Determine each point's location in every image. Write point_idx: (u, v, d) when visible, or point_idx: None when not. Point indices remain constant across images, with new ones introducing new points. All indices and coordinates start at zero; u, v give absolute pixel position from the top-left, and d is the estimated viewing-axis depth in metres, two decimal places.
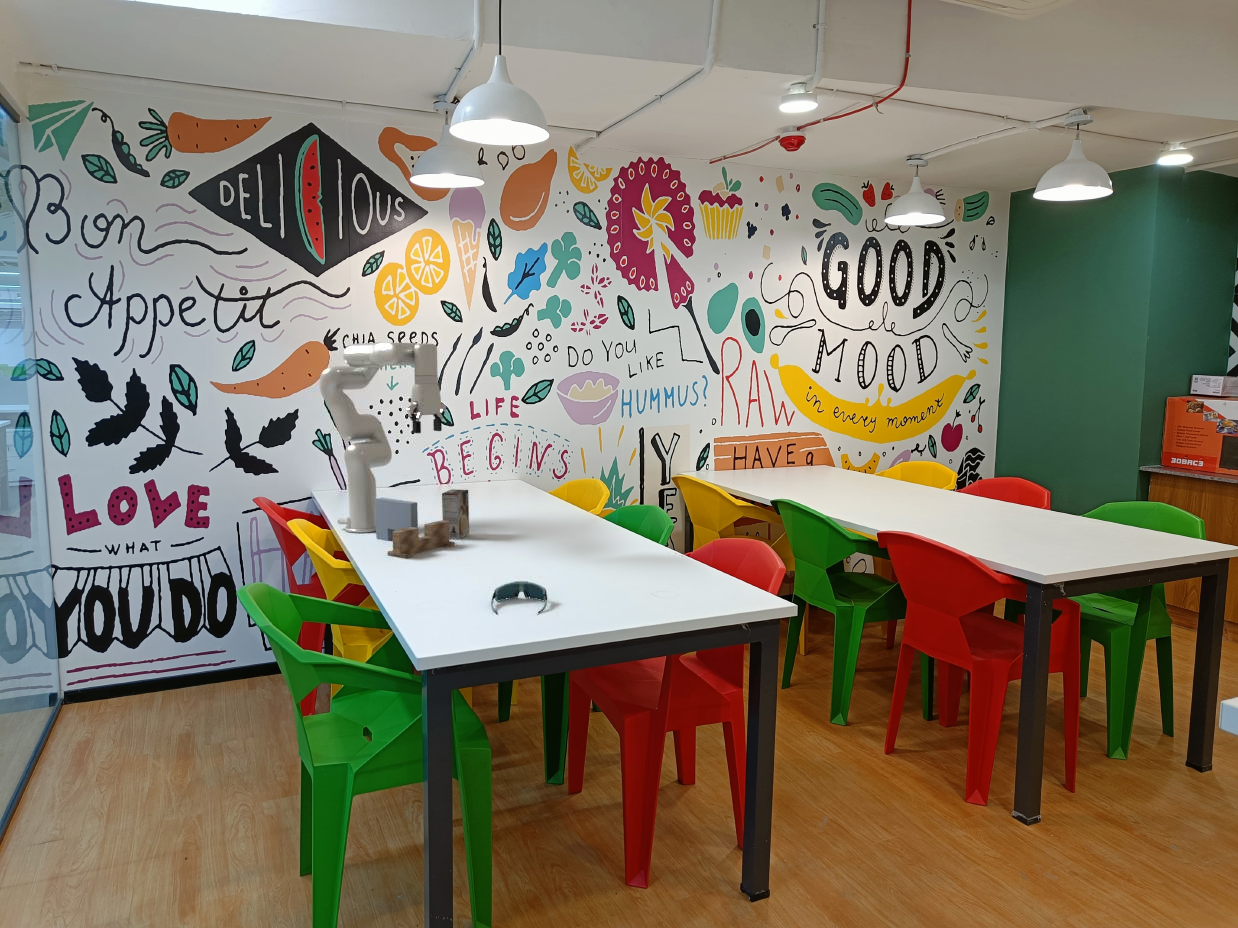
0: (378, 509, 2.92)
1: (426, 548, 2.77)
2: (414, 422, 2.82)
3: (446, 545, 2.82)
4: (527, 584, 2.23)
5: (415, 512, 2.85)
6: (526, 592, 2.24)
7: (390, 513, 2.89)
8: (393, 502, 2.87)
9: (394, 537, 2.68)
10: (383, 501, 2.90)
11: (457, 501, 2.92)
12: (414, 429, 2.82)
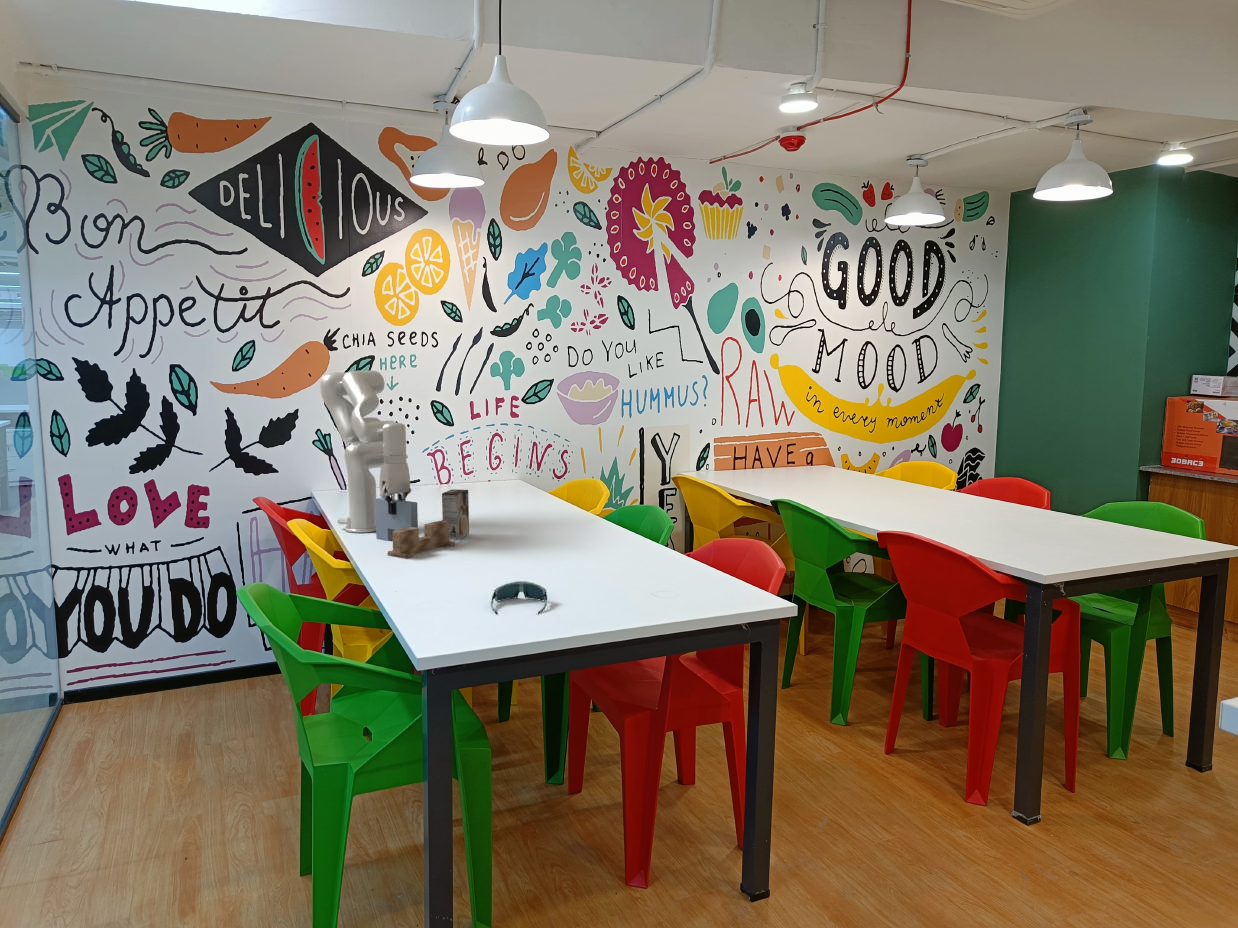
0: (378, 509, 2.92)
1: (426, 548, 2.77)
2: (389, 504, 2.87)
3: (446, 545, 2.82)
4: (527, 584, 2.23)
5: (415, 512, 2.85)
6: (526, 592, 2.24)
7: None
8: None
9: (394, 537, 2.68)
10: (383, 501, 2.90)
11: (457, 501, 2.92)
12: (389, 510, 2.87)
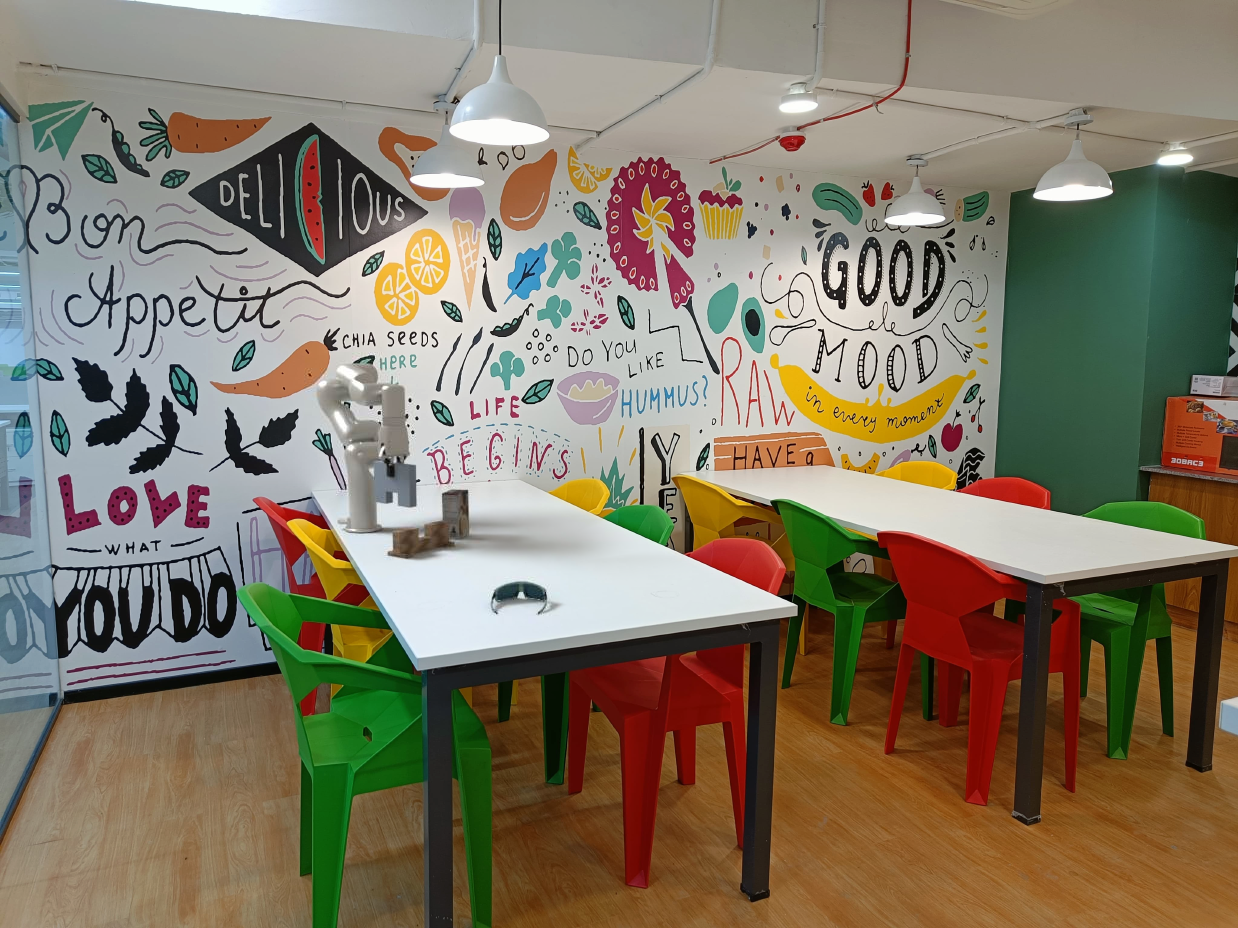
0: (377, 472, 2.90)
1: (426, 548, 2.77)
2: (388, 466, 2.85)
3: (446, 545, 2.82)
4: (527, 584, 2.23)
5: (414, 475, 2.84)
6: (526, 592, 2.24)
7: None
8: None
9: (394, 537, 2.68)
10: (382, 464, 2.89)
11: (457, 501, 2.92)
12: (388, 473, 2.86)
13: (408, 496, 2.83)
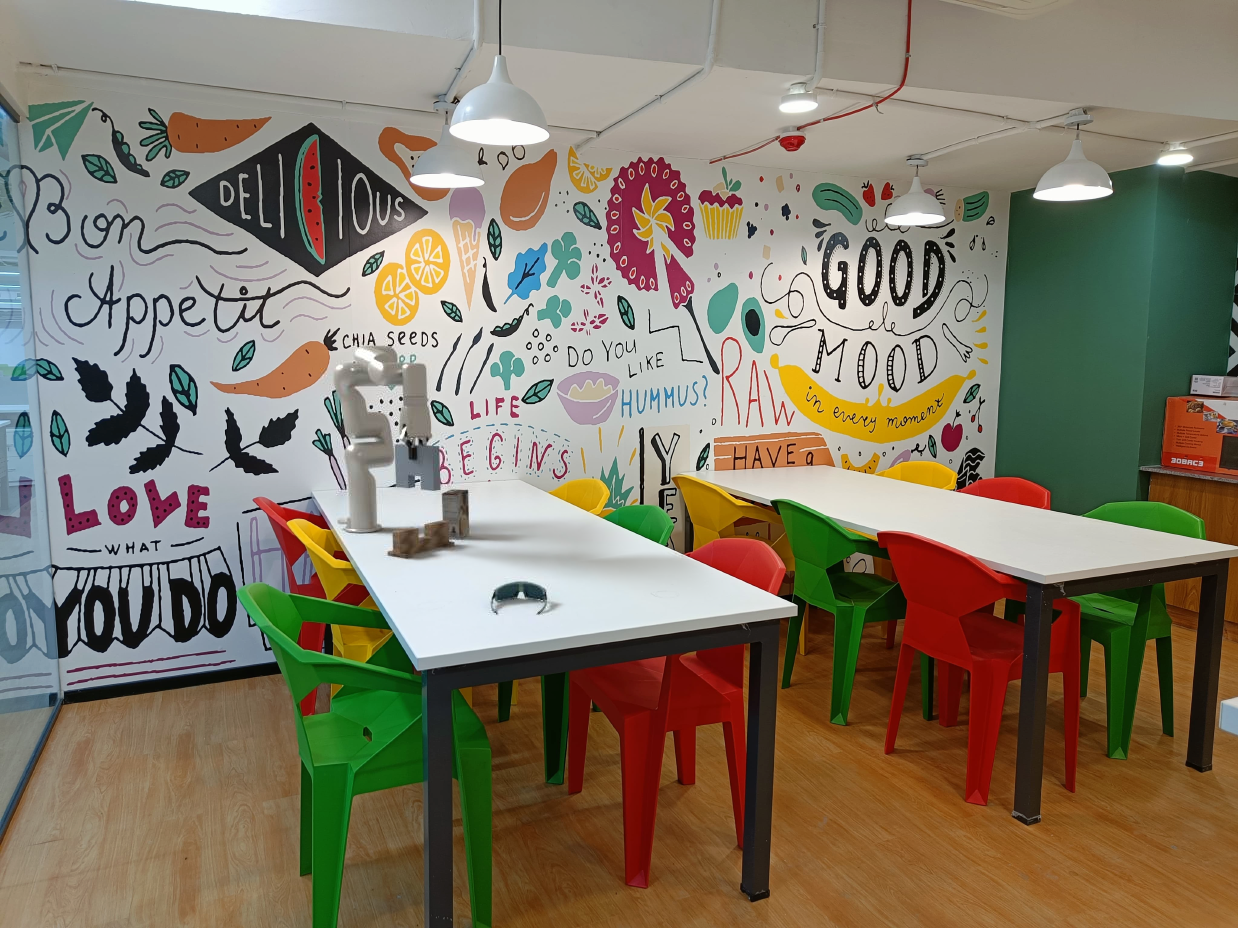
0: (398, 455, 2.77)
1: (426, 548, 2.77)
2: (410, 448, 2.72)
3: (446, 545, 2.82)
4: (527, 584, 2.23)
5: (437, 456, 2.71)
6: (526, 592, 2.24)
7: None
8: None
9: (394, 537, 2.68)
10: (403, 446, 2.76)
11: (457, 501, 2.92)
12: (410, 456, 2.73)
13: (432, 479, 2.70)
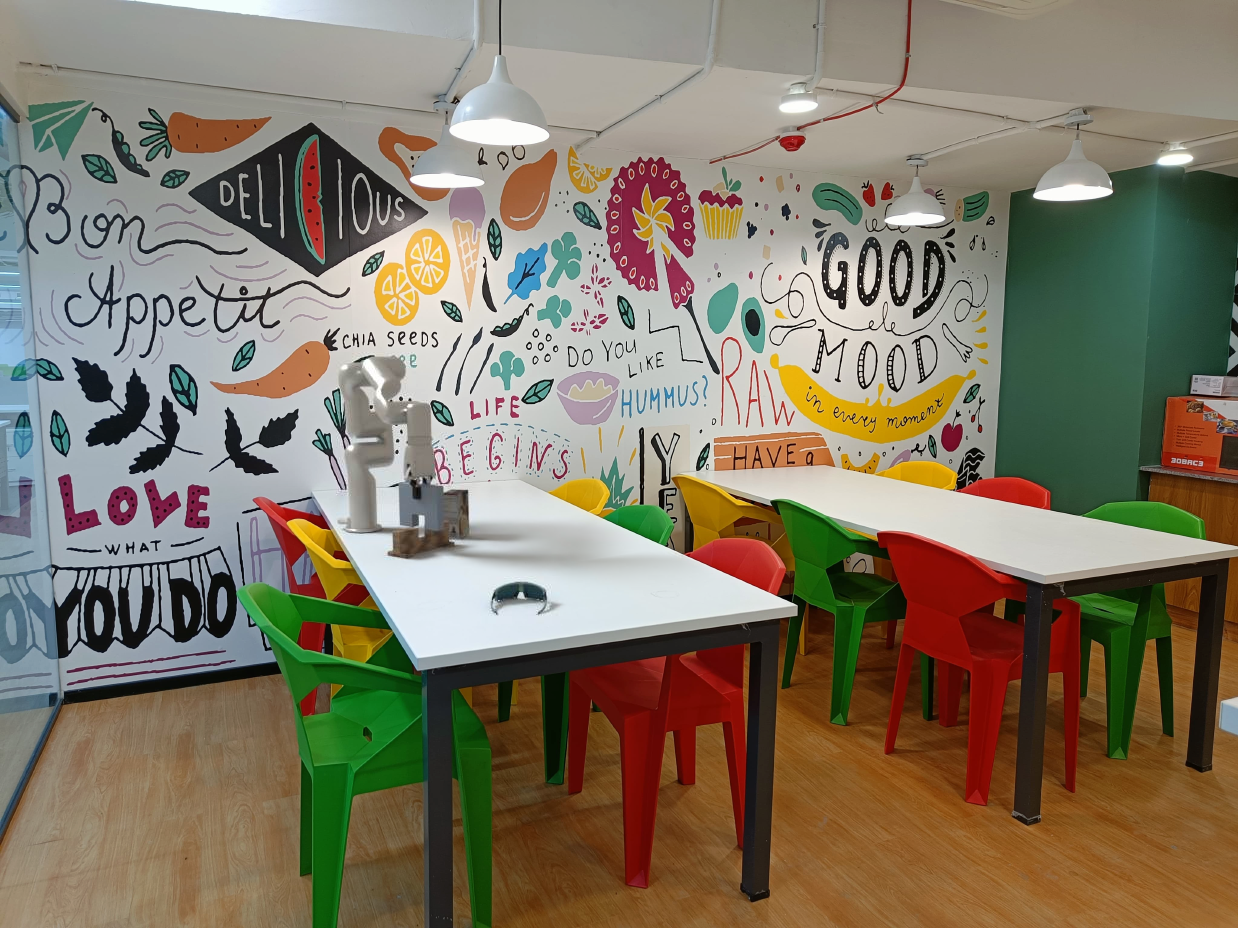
0: (402, 494, 2.77)
1: (426, 548, 2.77)
2: (414, 488, 2.72)
3: (446, 545, 2.82)
4: (527, 584, 2.23)
5: (441, 496, 2.71)
6: (526, 592, 2.24)
7: None
8: None
9: (394, 537, 2.68)
10: (407, 485, 2.76)
11: (457, 501, 2.92)
12: (414, 495, 2.73)
13: (436, 519, 2.70)
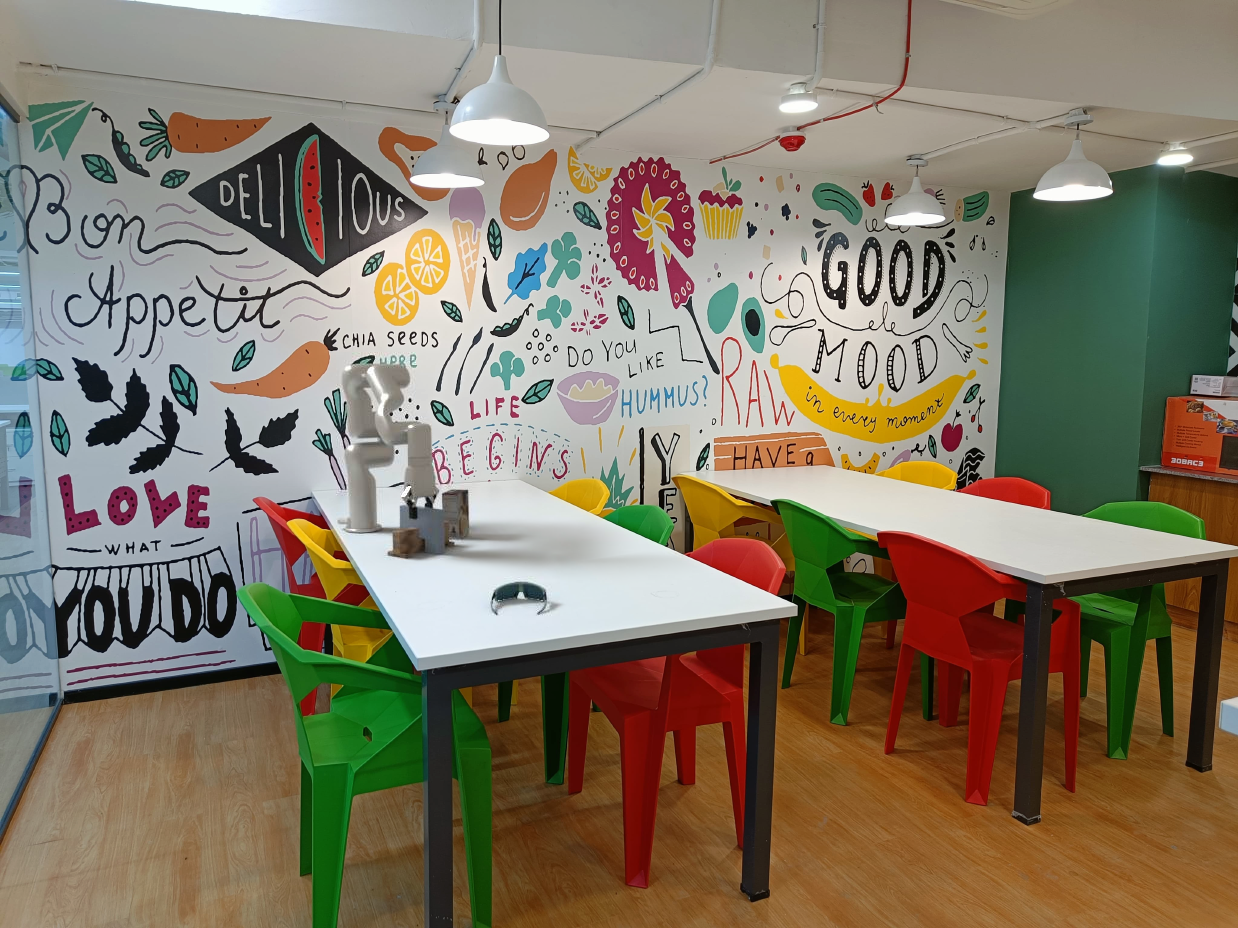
0: (403, 516, 2.78)
1: None
2: (410, 508, 2.72)
3: (446, 545, 2.82)
4: (527, 584, 2.23)
5: (442, 520, 2.72)
6: (526, 592, 2.24)
7: (415, 520, 2.76)
8: (419, 509, 2.74)
9: (394, 537, 2.68)
10: (408, 508, 2.77)
11: (457, 501, 2.92)
12: (410, 515, 2.72)
13: (437, 542, 2.71)
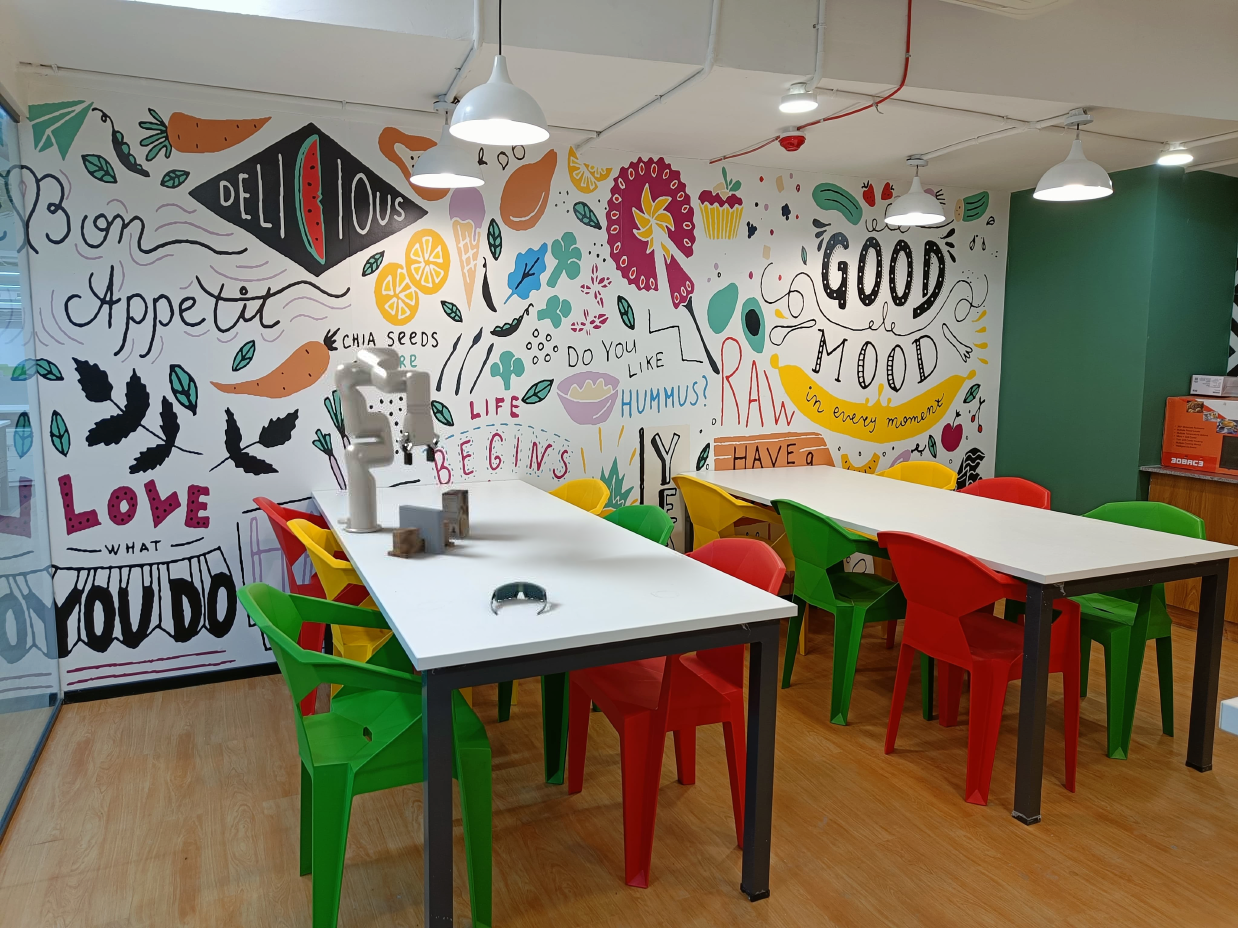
0: (402, 517, 2.78)
1: None
2: (405, 453, 2.70)
3: (446, 545, 2.82)
4: (526, 584, 2.23)
5: (442, 520, 2.72)
6: (525, 592, 2.24)
7: (415, 521, 2.75)
8: (418, 510, 2.74)
9: (394, 537, 2.68)
10: (407, 508, 2.77)
11: (457, 501, 2.92)
12: (405, 461, 2.70)
13: (436, 542, 2.71)
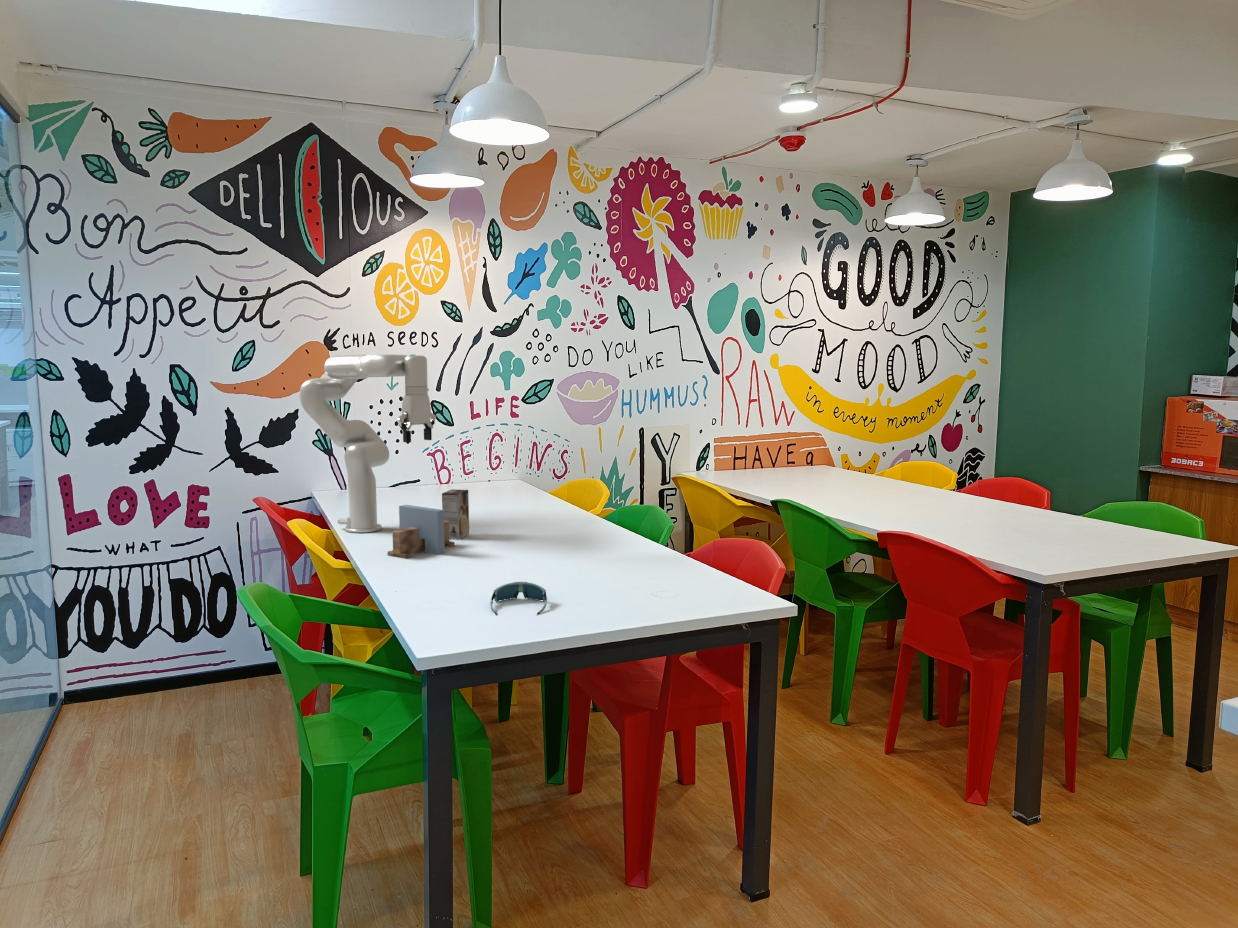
0: (402, 517, 2.78)
1: None
2: (404, 432, 2.90)
3: (446, 545, 2.82)
4: (526, 584, 2.23)
5: (442, 520, 2.72)
6: (525, 593, 2.23)
7: (415, 521, 2.75)
8: (418, 510, 2.74)
9: (394, 537, 2.68)
10: (407, 508, 2.77)
11: (457, 501, 2.92)
12: (404, 438, 2.91)
13: (436, 542, 2.71)
